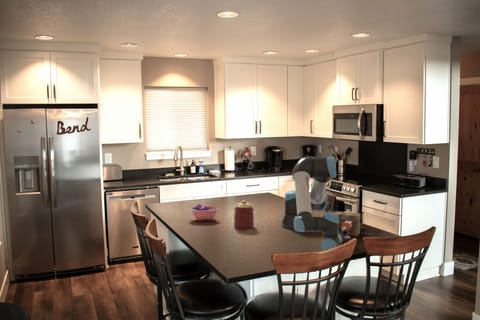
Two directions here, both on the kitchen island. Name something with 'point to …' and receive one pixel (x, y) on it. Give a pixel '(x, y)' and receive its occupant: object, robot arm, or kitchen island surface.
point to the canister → (244, 216)
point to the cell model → (204, 212)
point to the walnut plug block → (349, 216)
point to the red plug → (347, 224)
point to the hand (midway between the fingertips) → (345, 229)
